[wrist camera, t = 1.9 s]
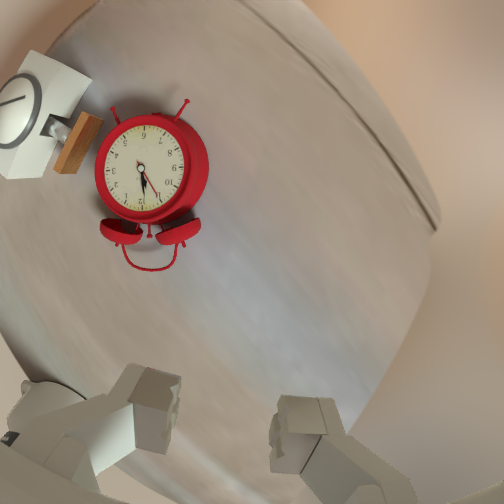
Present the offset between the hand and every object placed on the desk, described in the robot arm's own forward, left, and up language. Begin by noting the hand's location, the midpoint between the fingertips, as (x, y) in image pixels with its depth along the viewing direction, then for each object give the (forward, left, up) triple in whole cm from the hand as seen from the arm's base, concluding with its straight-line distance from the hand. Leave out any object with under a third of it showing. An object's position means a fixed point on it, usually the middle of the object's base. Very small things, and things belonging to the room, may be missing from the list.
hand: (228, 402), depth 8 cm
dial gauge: (0, +26, -21) cm, 34 cm away
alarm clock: (0, +10, -22) cm, 24 cm away
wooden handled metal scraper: (0, +22, -20) cm, 30 cm away
